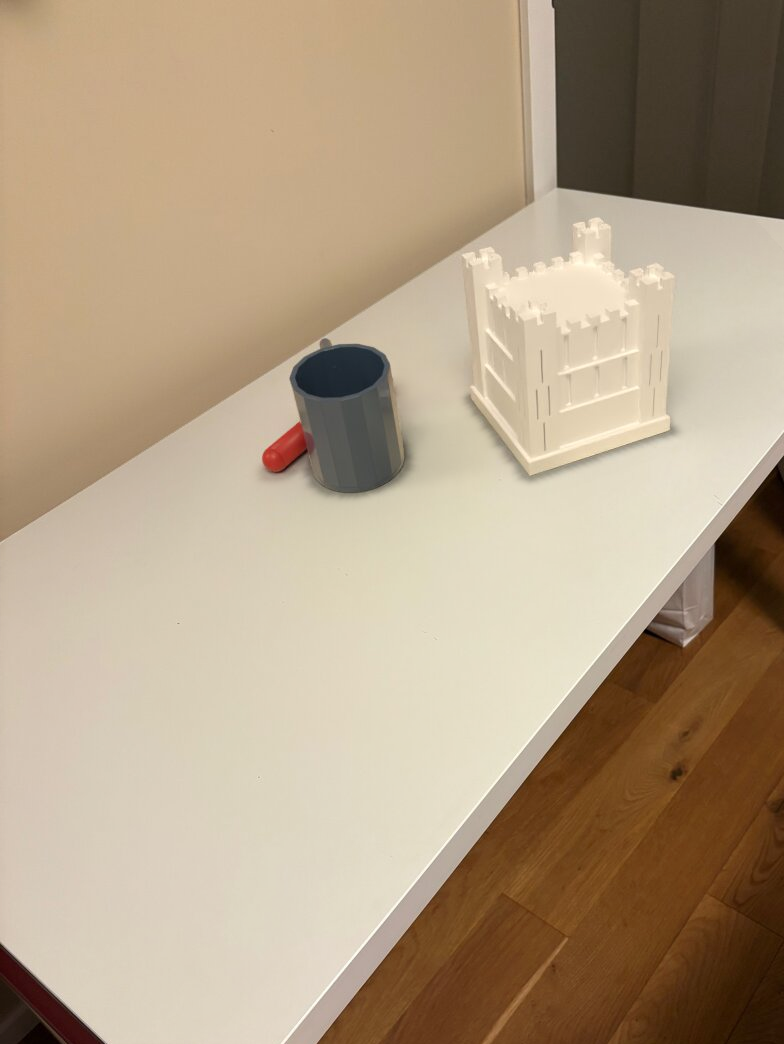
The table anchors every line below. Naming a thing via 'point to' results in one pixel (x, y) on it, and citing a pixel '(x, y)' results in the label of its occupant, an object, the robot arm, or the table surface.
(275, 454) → the spoon
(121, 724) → the table surface
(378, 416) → the mug
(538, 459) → the castle model
